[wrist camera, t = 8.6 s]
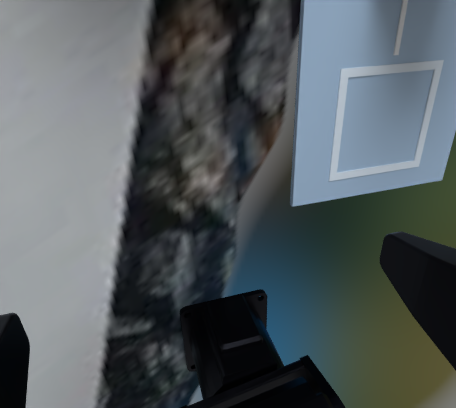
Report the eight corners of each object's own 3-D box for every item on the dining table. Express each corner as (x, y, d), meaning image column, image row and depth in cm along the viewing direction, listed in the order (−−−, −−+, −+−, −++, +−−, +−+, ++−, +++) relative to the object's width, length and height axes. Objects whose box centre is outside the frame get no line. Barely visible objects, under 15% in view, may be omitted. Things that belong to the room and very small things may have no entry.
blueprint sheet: (437, 178, 27) (443, 180, 27) (289, 204, 24) (293, 207, 24) (554, -260, 17) (565, -267, 16) (317, -300, 14) (323, -309, 14)
